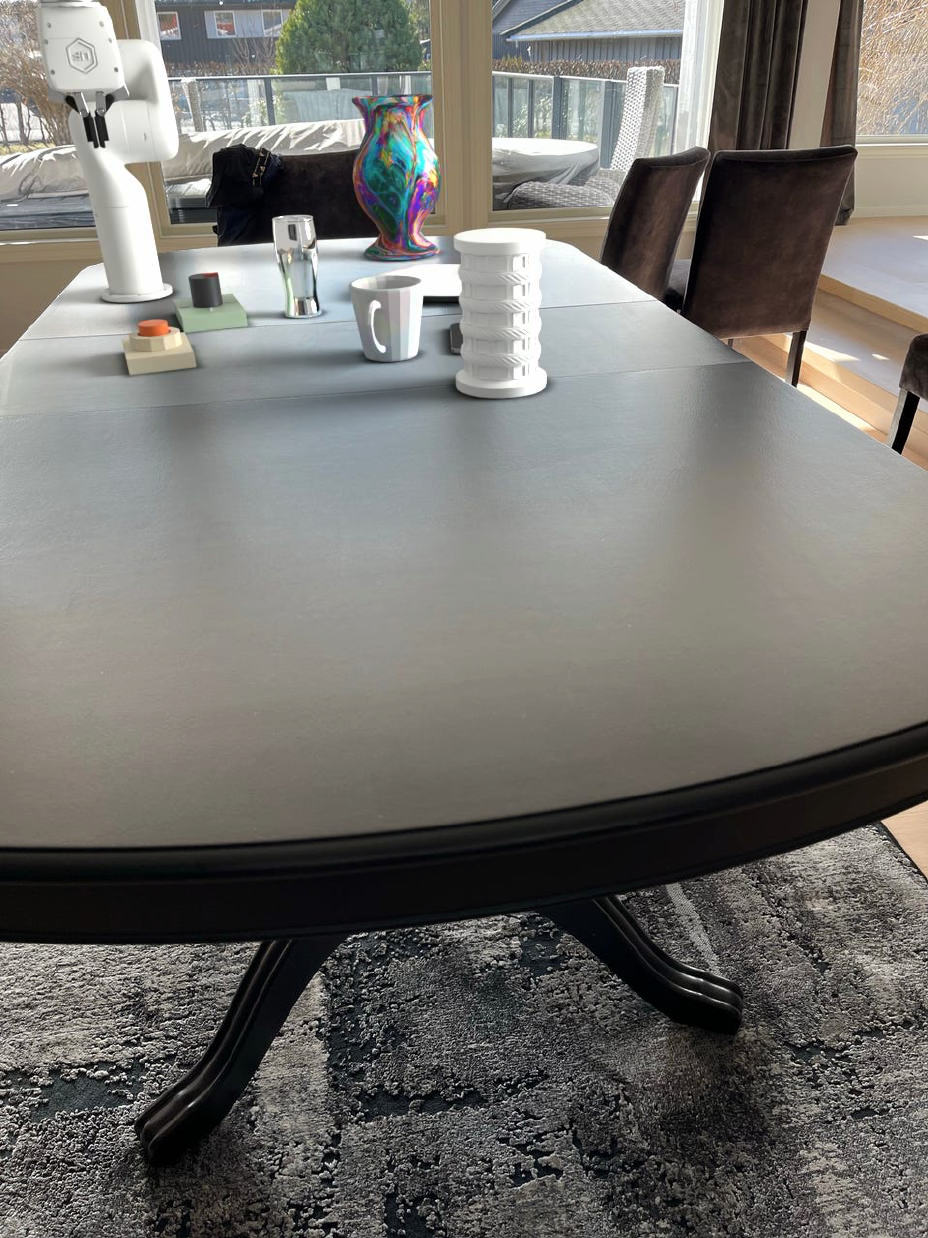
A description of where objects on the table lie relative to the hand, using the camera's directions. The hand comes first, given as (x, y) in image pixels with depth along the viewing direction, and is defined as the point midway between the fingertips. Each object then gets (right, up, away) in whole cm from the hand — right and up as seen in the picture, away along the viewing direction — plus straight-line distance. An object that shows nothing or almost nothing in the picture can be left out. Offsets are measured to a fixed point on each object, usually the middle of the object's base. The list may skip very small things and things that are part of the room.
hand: (99, 146), depth 136 cm
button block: (+9, -31, 0) cm, 32 cm away
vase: (+39, +10, +68) cm, 79 cm away
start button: (+9, -28, -2) cm, 29 cm away
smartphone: (+54, -27, +4) cm, 61 cm away
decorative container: (+57, -38, -15) cm, 70 cm away
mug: (+42, -32, -3) cm, 52 cm away
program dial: (+10, -16, +19) cm, 27 cm away
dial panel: (+11, -19, +20) cm, 29 cm away
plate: (+49, -8, +36) cm, 61 cm away
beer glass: (+26, -17, +22) cm, 38 cm away
